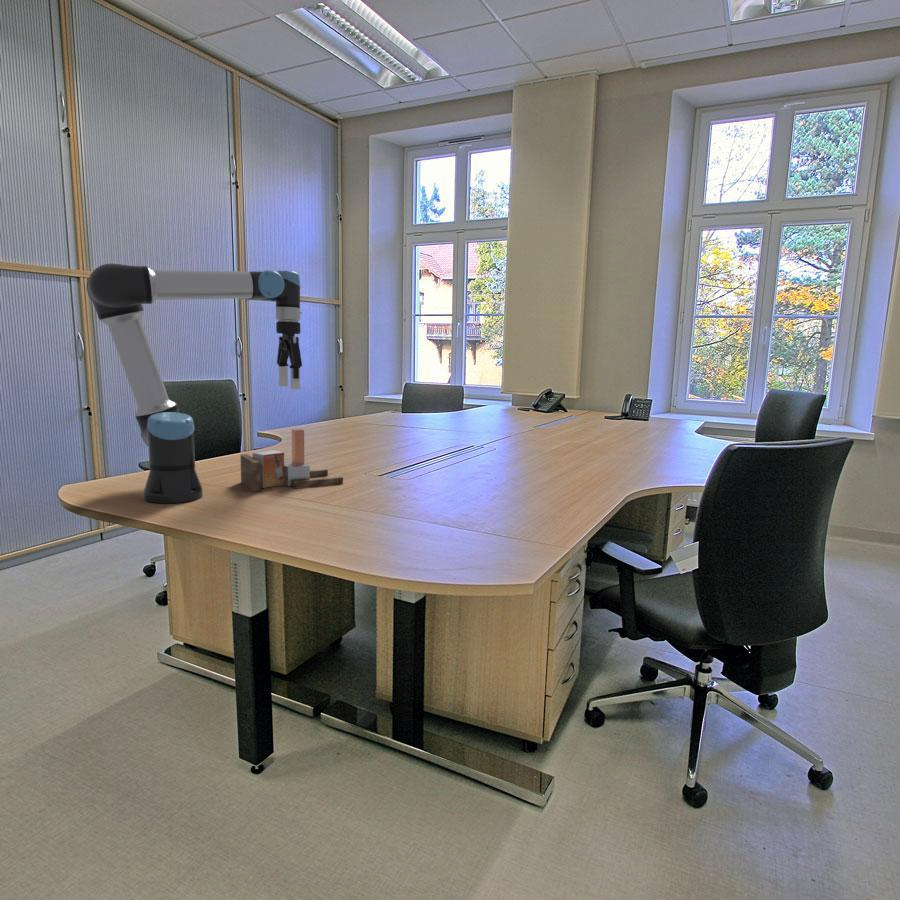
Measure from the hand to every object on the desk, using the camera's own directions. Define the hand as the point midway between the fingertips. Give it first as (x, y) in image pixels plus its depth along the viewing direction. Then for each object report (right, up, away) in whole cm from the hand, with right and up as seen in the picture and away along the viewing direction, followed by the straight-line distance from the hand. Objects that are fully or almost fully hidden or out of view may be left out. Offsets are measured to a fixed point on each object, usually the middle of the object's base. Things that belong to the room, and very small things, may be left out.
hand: (289, 387), depth 196 cm
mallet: (+2, -31, -3) cm, 31 cm away
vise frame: (+2, -31, -3) cm, 31 cm away
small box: (-4, -32, -8) cm, 33 cm away
